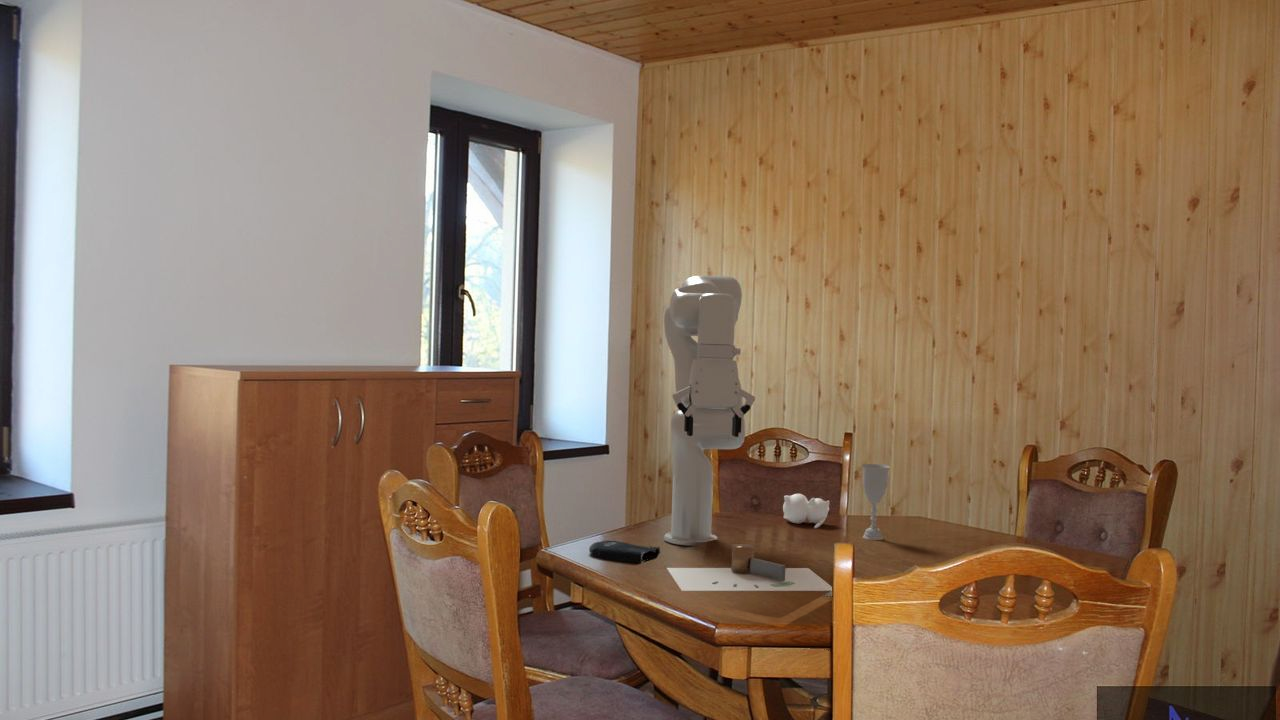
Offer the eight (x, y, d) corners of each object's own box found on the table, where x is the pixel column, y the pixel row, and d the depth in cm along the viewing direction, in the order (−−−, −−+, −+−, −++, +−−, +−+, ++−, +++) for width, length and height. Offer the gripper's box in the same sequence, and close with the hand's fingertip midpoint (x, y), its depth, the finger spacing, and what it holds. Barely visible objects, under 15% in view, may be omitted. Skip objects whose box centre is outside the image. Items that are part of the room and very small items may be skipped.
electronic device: (660, 564, 221) (602, 546, 228) (663, 541, 220) (604, 523, 227) (640, 578, 213) (580, 559, 220) (643, 554, 212) (582, 535, 219)
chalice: (893, 540, 248) (896, 467, 248) (869, 541, 246) (872, 468, 245) (875, 534, 255) (878, 463, 255) (852, 535, 253) (855, 464, 252)
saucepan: (726, 570, 205) (727, 545, 204) (740, 567, 208) (741, 543, 207) (776, 582, 195) (777, 557, 195) (790, 579, 199) (791, 554, 198)
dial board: (666, 573, 206) (666, 567, 206) (808, 573, 210) (808, 567, 210) (681, 597, 188) (681, 589, 188) (836, 596, 192) (836, 589, 192)
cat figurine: (830, 489, 266) (784, 484, 269) (827, 516, 258) (780, 511, 260) (829, 514, 271) (784, 509, 274) (826, 541, 262) (780, 536, 265)
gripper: (751, 354, 213) (748, 434, 213) (671, 351, 211) (668, 433, 211) (760, 355, 205) (757, 438, 206) (677, 352, 203) (674, 437, 204)
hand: (712, 435), depth 208 cm, fingers open, 9 cm apart
